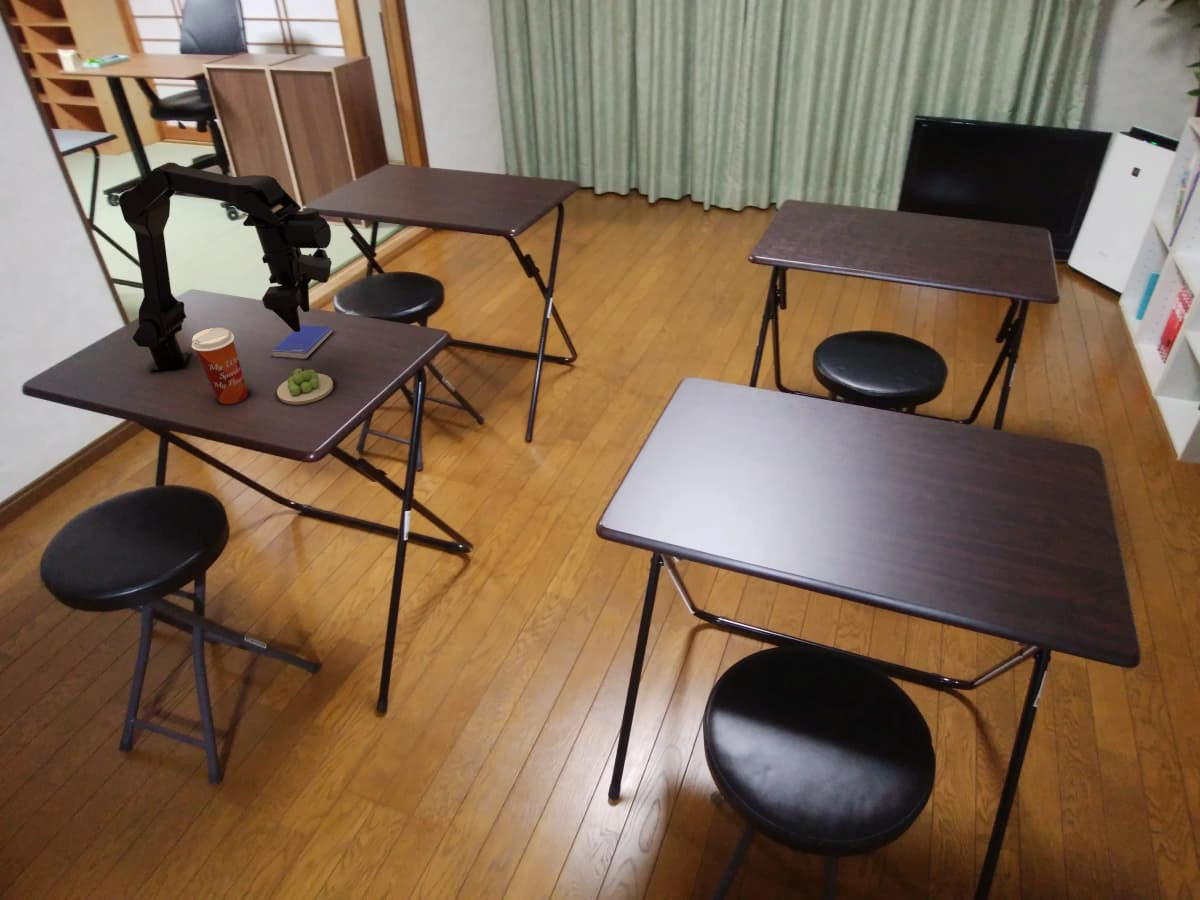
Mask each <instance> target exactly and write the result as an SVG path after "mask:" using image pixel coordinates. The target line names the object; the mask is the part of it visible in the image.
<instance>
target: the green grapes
mask: <svg viewBox="0 0 1200 900" xmlns="http://www.w3.org/2000/svg"><path fill="white" fill-rule="evenodd" d="M316 373H317V372H316V370H314V369H304V366H303V365H302V366H300V368H295V369H294V370H293V371H292V376H291V375H290V376H289V377H288V378H287V380H288V381H287V382H288V389H289V392H290V393H291V394H292V395H298V394H299V393H300V391H301V390H302V391H303V392H309V391H310V390H311V388H317V387H318V386H319V381H318V380H319V377H318V375H317V374H316ZM299 386H300V387H299Z"/></svg>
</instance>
